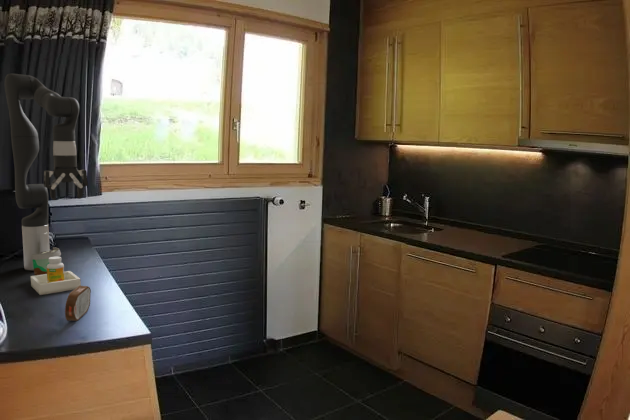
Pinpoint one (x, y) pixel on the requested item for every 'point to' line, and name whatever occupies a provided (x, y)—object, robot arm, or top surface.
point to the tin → (77, 303)
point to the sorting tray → (55, 283)
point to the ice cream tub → (43, 260)
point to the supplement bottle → (55, 270)
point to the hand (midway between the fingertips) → (66, 199)
